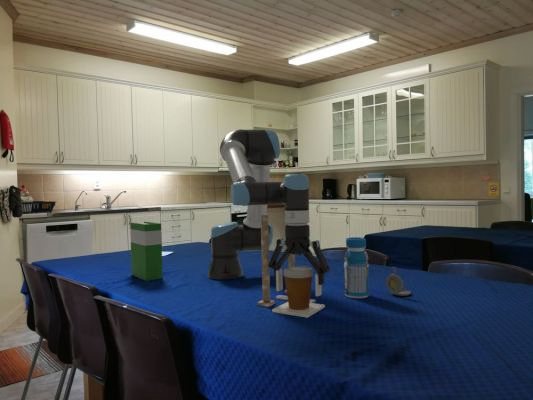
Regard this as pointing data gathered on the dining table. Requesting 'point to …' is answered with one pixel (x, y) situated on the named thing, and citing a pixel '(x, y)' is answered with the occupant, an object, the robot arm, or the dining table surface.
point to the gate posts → (265, 263)
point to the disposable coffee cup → (298, 286)
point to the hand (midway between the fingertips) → (298, 292)
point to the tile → (303, 313)
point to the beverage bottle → (356, 268)
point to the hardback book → (146, 250)
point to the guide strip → (287, 298)
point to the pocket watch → (396, 284)
